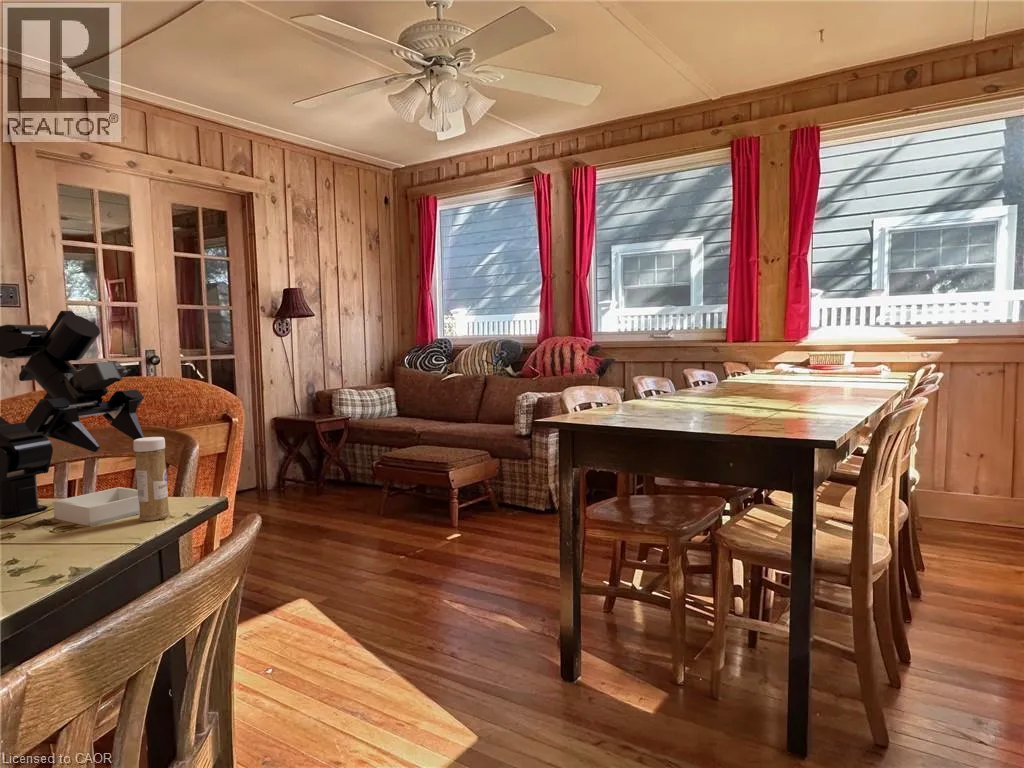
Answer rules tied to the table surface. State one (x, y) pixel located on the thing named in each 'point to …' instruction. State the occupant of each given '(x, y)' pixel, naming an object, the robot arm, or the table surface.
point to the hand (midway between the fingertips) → (120, 445)
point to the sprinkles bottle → (151, 478)
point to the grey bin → (98, 506)
